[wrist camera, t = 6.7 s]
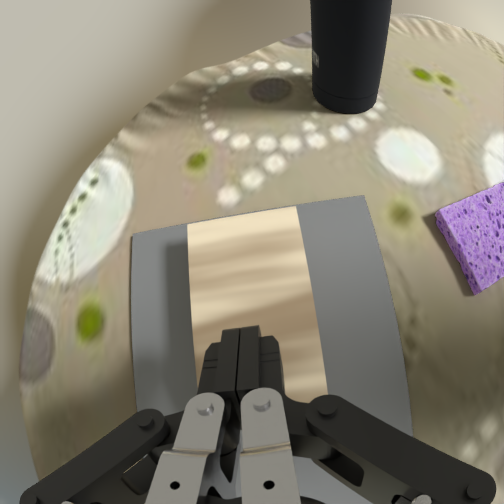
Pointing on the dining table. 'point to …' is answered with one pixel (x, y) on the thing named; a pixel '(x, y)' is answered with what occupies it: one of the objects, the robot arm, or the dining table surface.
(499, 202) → the sponges
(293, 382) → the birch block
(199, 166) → the dining table surface
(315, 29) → the black water bottle
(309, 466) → the rubber mat
